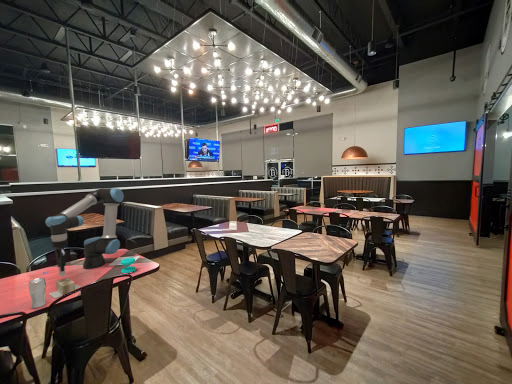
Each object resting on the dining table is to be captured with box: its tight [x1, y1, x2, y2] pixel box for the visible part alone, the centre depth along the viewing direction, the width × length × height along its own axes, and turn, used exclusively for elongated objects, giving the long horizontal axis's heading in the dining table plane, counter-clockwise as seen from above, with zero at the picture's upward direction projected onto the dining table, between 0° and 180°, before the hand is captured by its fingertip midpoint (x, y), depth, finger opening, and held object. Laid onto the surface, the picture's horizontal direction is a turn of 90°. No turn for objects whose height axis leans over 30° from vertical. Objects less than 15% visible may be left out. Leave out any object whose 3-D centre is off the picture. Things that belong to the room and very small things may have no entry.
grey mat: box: [48, 284, 81, 299], centre depth 143 cm, size 14×10×1 cm
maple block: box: [55, 277, 76, 296], centre depth 143 cm, size 6×6×12 cm
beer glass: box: [28, 277, 47, 309], centre depth 127 cm, size 7×7×15 cm
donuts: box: [120, 257, 137, 275], centre depth 171 cm, size 10×10×10 cm
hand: (62, 275), depth 145 cm, fingers closed
